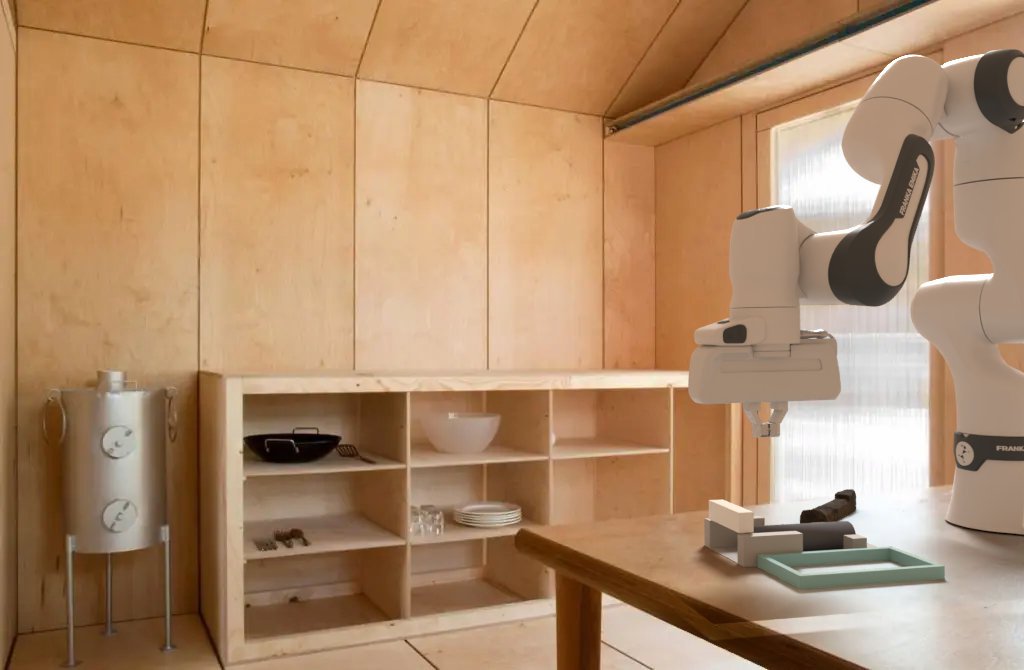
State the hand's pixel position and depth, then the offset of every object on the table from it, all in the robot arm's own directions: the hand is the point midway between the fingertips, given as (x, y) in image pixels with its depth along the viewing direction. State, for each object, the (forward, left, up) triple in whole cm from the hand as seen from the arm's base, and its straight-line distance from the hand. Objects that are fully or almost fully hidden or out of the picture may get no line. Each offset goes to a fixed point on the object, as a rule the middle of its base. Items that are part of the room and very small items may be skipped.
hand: (765, 436), depth 111 cm
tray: (-5, +11, -16) cm, 20 cm away
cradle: (-5, 0, -16) cm, 17 cm away
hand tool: (-21, -18, -17) cm, 33 cm away
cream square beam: (+5, 0, -11) cm, 12 cm away
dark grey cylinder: (-5, 0, -15) cm, 16 cm away
